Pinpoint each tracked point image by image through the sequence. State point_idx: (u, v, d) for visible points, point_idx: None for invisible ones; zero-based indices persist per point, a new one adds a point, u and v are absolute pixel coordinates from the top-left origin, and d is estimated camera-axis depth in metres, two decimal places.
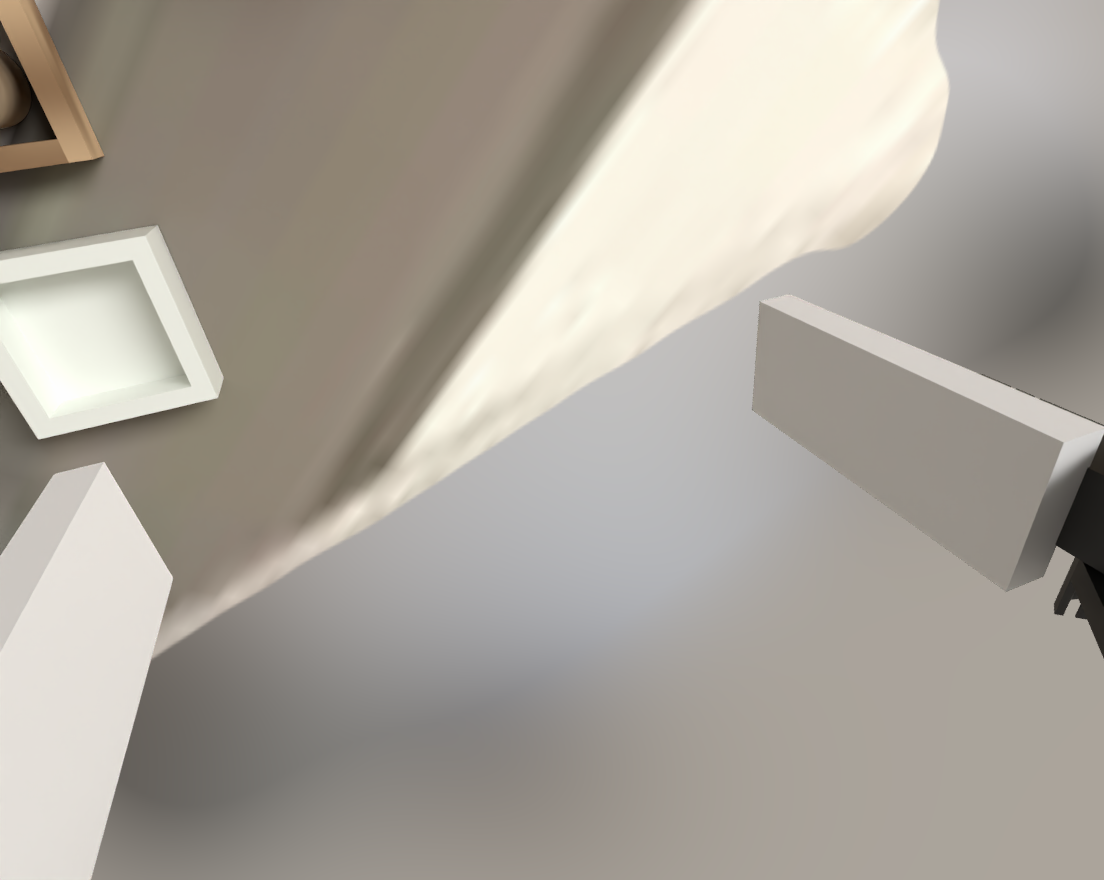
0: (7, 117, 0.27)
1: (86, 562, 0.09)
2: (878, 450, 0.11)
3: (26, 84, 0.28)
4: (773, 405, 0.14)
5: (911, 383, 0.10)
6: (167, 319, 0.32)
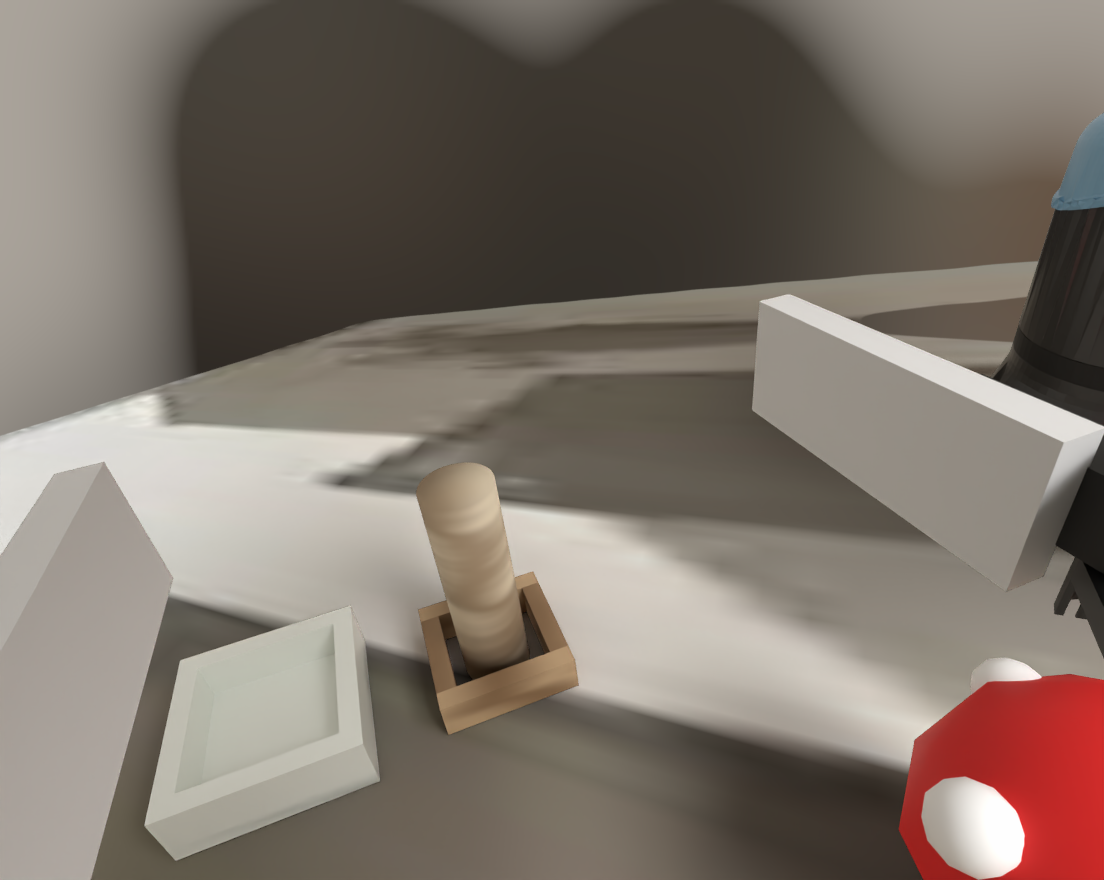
0: (469, 655, 0.32)
1: (86, 562, 0.09)
2: (878, 450, 0.11)
3: None
4: (773, 405, 0.14)
5: (911, 383, 0.10)
6: (266, 766, 0.27)
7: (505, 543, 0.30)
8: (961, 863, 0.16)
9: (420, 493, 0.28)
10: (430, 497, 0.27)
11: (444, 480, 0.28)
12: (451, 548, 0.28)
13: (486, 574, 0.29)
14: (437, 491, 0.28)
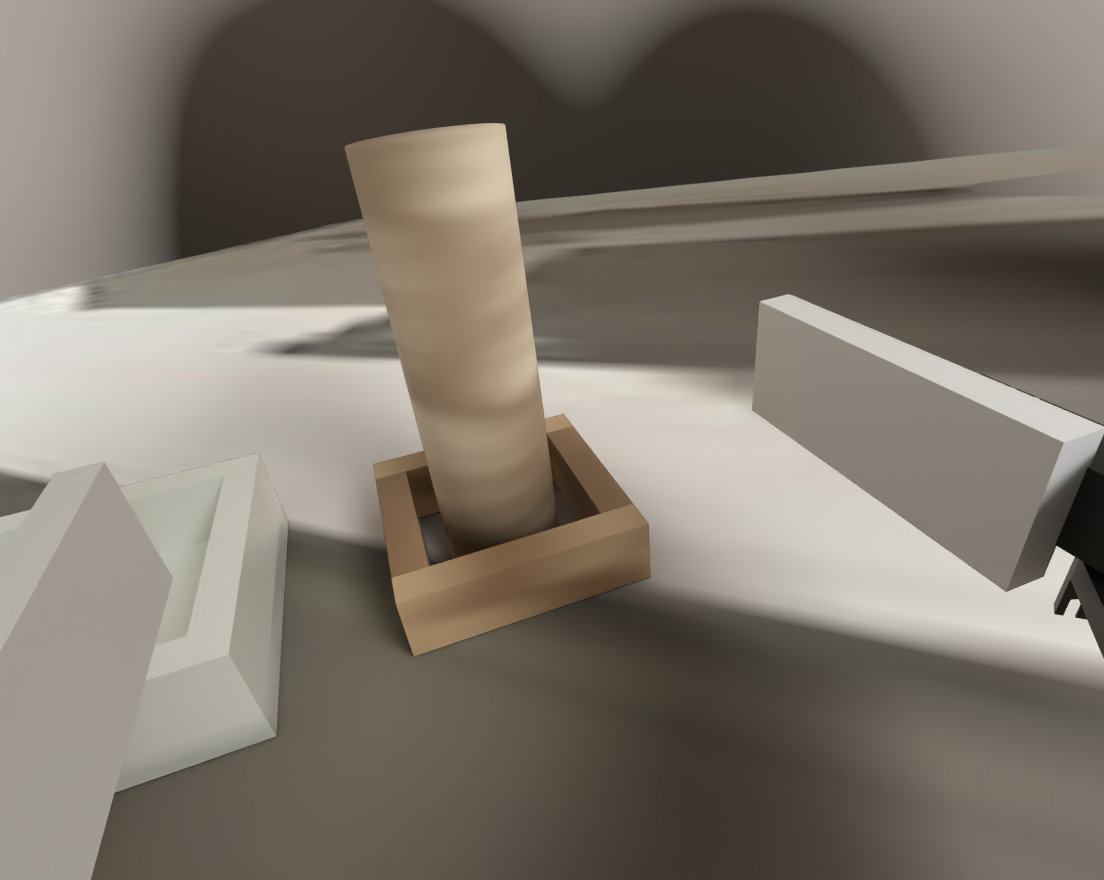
0: (456, 519, 0.18)
1: (86, 562, 0.09)
2: (878, 450, 0.11)
3: None
4: (773, 405, 0.14)
5: (911, 383, 0.10)
6: None
7: (524, 282, 0.15)
8: None
9: (353, 145, 0.14)
10: (370, 145, 0.13)
11: (404, 136, 0.14)
12: (415, 255, 0.14)
13: (487, 332, 0.15)
14: (388, 141, 0.14)
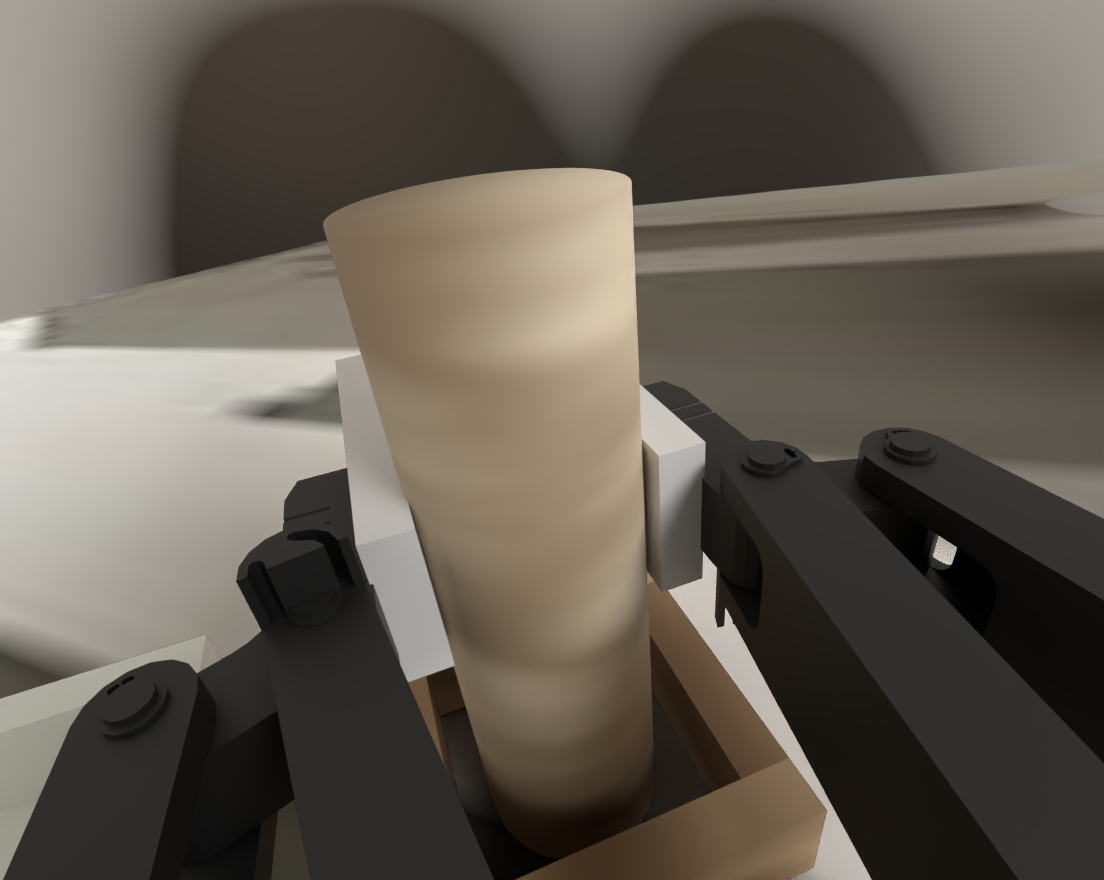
0: (509, 786, 0.11)
1: None
2: None
3: None
4: None
5: None
6: None
7: (641, 443, 0.09)
8: None
9: (340, 219, 0.07)
10: (375, 221, 0.07)
11: (436, 195, 0.08)
12: (461, 434, 0.07)
13: (586, 547, 0.08)
14: (407, 211, 0.07)
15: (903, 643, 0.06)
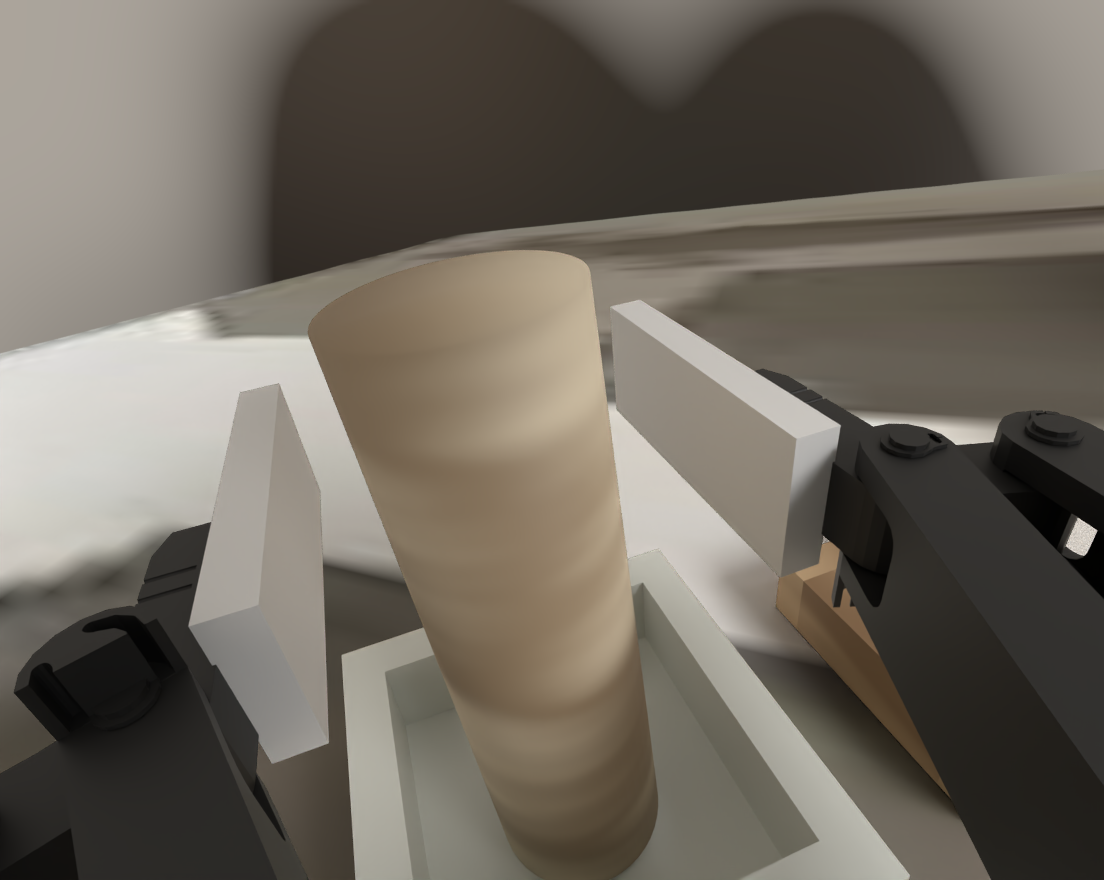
0: (515, 820, 0.12)
1: (286, 456, 0.11)
2: (694, 447, 0.12)
3: (598, 878, 0.12)
4: (628, 405, 0.15)
5: (706, 384, 0.11)
6: None
7: (618, 503, 0.09)
8: None
9: (323, 323, 0.08)
10: (355, 328, 0.07)
11: (412, 289, 0.08)
12: (443, 517, 0.08)
13: (568, 608, 0.09)
14: (384, 313, 0.08)
15: (1042, 624, 0.06)
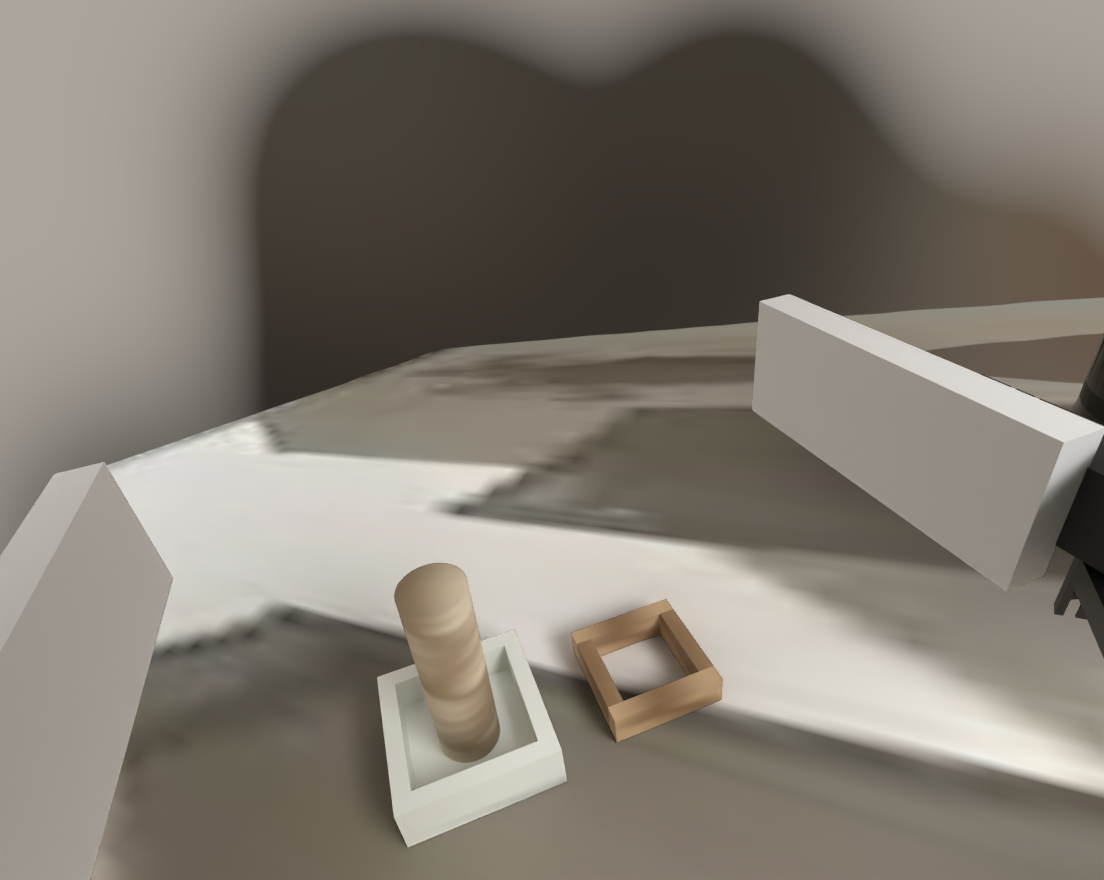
0: (443, 736, 0.34)
1: (86, 562, 0.09)
2: (878, 450, 0.11)
3: (473, 759, 0.35)
4: (773, 405, 0.14)
5: (911, 383, 0.10)
6: (483, 768, 0.32)
7: (477, 637, 0.32)
8: None
9: (398, 596, 0.30)
10: (407, 601, 0.30)
11: (420, 582, 0.31)
12: (426, 647, 0.30)
13: (459, 668, 0.31)
14: (414, 595, 0.30)
15: None
